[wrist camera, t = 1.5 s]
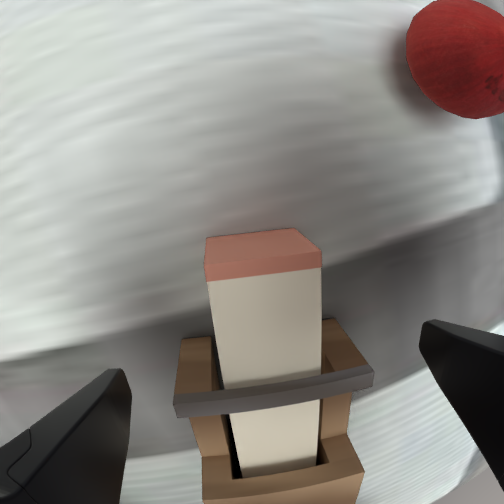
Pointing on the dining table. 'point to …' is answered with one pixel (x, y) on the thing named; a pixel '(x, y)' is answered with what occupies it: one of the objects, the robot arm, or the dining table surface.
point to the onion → (459, 57)
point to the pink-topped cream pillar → (268, 339)
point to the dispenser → (270, 396)
